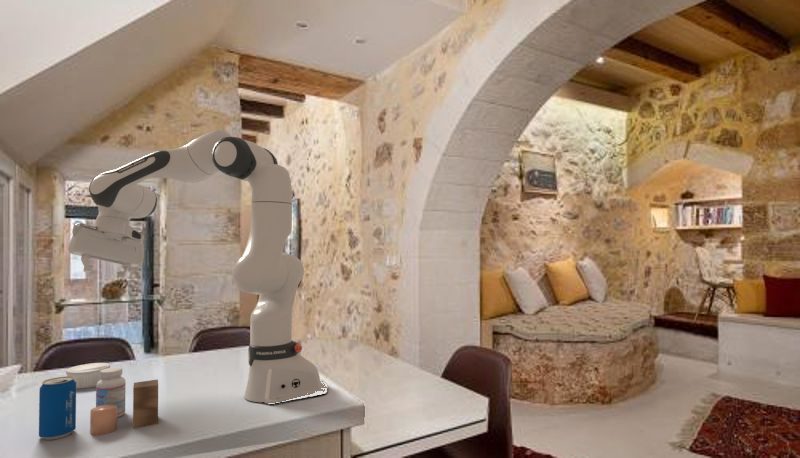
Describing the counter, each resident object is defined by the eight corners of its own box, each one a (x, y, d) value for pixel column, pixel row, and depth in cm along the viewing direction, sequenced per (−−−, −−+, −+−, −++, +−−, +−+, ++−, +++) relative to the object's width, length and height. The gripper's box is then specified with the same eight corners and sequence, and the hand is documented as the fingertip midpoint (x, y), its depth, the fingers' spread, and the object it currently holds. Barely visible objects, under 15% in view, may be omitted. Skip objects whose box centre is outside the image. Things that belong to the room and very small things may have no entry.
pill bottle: (93, 416, 111) (93, 369, 111) (121, 409, 115) (122, 365, 115) (98, 422, 106) (99, 374, 107) (128, 415, 111) (128, 369, 111)
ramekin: (89, 391, 132) (89, 372, 132) (55, 389, 133) (56, 371, 134) (118, 379, 143) (118, 362, 143) (87, 378, 144) (87, 362, 145)
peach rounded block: (119, 425, 105) (119, 403, 105) (113, 433, 100) (113, 410, 100) (94, 428, 103) (94, 406, 103) (87, 436, 98) (87, 413, 99)
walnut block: (157, 417, 109) (157, 379, 110) (158, 423, 105) (158, 384, 105) (133, 421, 107) (133, 382, 107) (133, 428, 103) (133, 388, 103)
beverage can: (55, 442, 96) (56, 384, 96) (30, 440, 97) (31, 383, 98) (82, 430, 102) (83, 376, 103) (59, 428, 103) (59, 375, 104)
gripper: (80, 218, 128) (72, 265, 123) (149, 237, 145) (143, 279, 140) (68, 223, 131) (59, 269, 126) (137, 241, 148) (131, 282, 143)
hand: (104, 274), depth 133 cm, fingers open, 8 cm apart
